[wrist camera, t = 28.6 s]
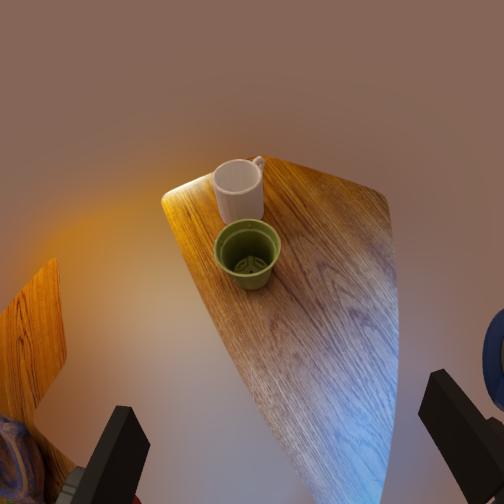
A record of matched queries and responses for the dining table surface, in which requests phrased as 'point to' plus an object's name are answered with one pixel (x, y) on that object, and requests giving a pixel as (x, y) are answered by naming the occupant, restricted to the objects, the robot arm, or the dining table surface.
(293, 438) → the dining table surface
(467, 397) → the robot arm
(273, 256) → the plant pot
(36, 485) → the bowl
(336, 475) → the dining table surface
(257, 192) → the mug
